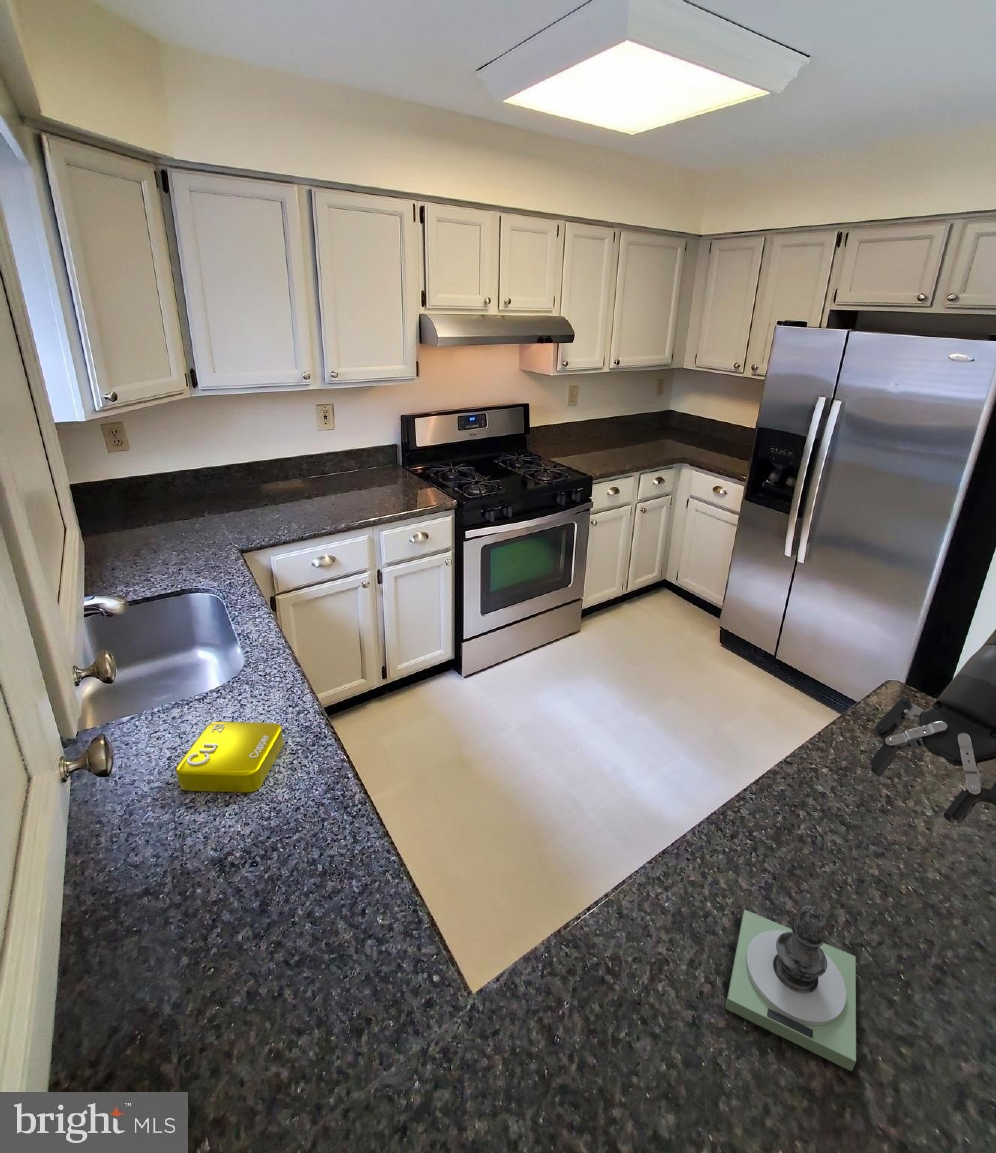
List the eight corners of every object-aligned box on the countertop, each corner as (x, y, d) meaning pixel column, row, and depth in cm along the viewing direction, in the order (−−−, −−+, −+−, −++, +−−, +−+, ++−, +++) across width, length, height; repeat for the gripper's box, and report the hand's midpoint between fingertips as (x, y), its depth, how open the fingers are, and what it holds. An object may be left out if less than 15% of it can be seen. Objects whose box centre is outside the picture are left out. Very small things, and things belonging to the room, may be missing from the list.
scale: (852, 966, 80) (857, 952, 79) (851, 1072, 69) (858, 1057, 67) (741, 918, 86) (745, 905, 85) (725, 1008, 75) (728, 994, 74)
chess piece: (824, 1002, 73) (848, 936, 68) (772, 986, 75) (792, 920, 70) (817, 958, 78) (839, 893, 73) (768, 943, 80) (787, 879, 75)
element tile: (258, 794, 107) (254, 773, 105) (175, 791, 107) (169, 770, 105) (287, 739, 121) (284, 720, 119) (214, 737, 121) (209, 718, 119)
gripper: (924, 650, 76) (846, 750, 76) (1061, 710, 65) (970, 828, 64) (934, 675, 81) (860, 769, 80) (1064, 736, 69) (979, 845, 69)
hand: (909, 795), depth 72 cm, fingers open, 8 cm apart
